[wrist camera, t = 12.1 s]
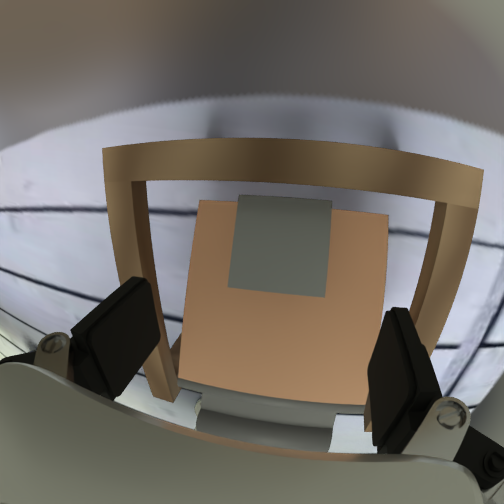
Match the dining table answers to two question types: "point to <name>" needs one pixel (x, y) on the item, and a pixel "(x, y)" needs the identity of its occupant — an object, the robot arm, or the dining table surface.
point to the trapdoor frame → (293, 172)
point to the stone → (281, 245)
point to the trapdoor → (281, 336)
